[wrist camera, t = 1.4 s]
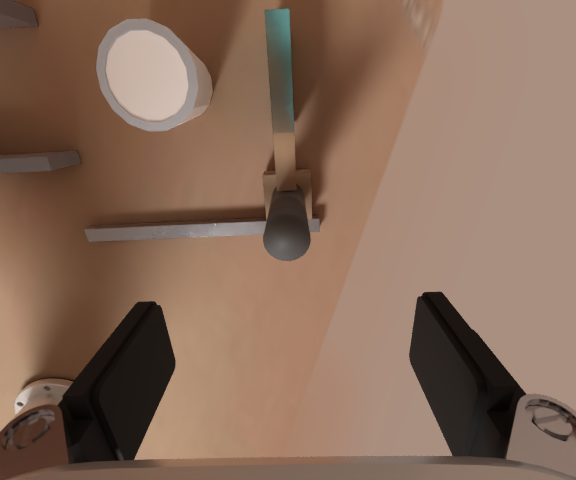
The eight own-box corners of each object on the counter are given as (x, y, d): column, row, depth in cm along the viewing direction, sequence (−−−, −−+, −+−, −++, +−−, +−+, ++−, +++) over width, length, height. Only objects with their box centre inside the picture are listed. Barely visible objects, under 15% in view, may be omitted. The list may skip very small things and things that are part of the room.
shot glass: (233, 72, 27) (215, 60, 20) (199, 141, 29) (172, 151, 22) (160, 21, 25) (115, -9, 19) (130, 98, 27) (80, 95, 21)
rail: (318, 227, 32) (319, 231, 31) (95, 237, 33) (88, 241, 32) (318, 214, 32) (319, 218, 30) (91, 225, 32) (84, 229, 31)
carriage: (310, 212, 31) (321, 269, 20) (267, 214, 31) (255, 271, 20) (306, 28, 25) (319, -36, 14) (253, 31, 25) (223, -30, 14)
